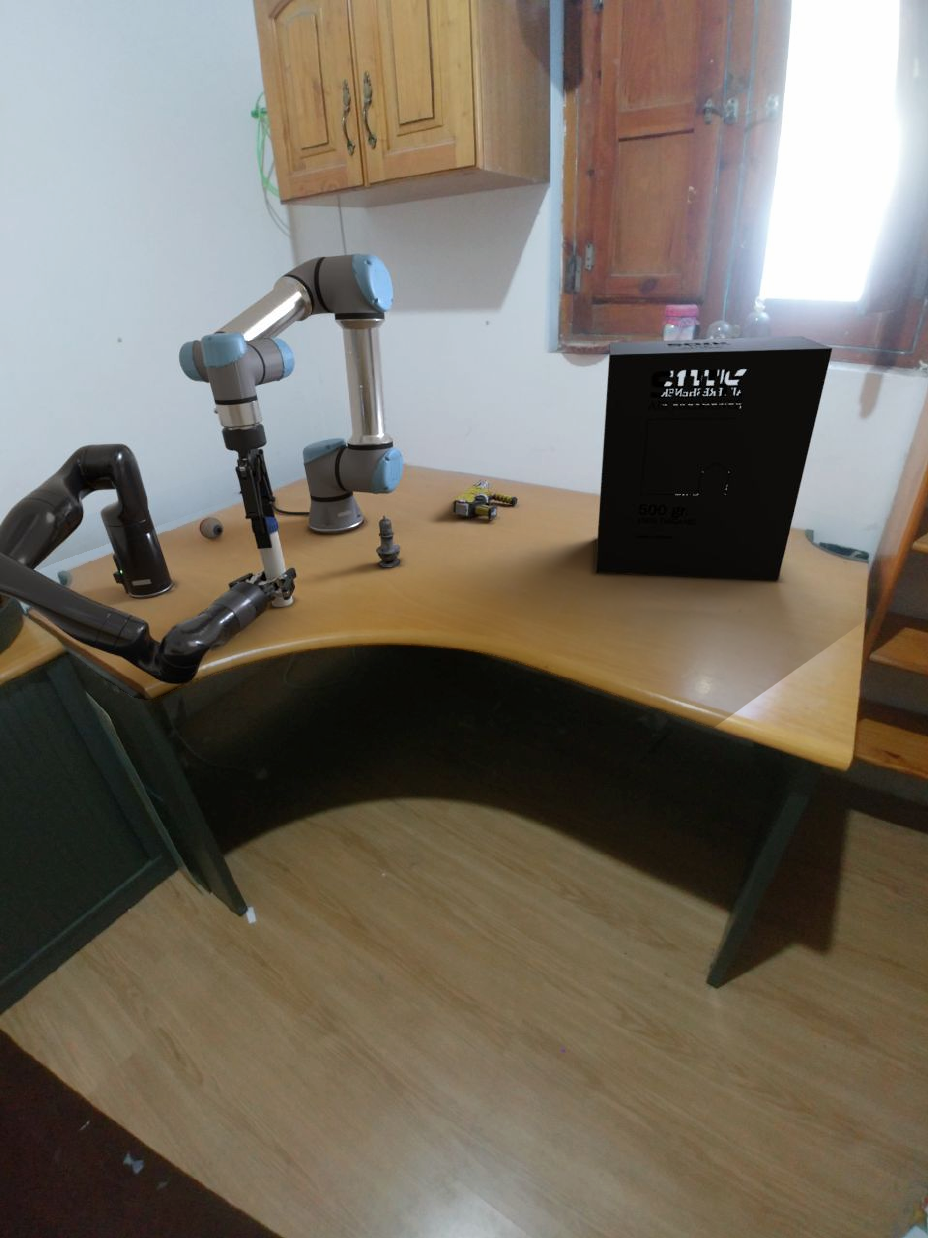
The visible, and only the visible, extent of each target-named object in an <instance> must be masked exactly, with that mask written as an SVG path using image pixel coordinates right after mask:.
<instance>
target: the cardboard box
mask: <svg viewBox="0 0 928 1238" xmlns="http://www.w3.org/2000/svg"><path fill="white" fill-rule="evenodd" d="M832 352H833V347H830V346H829V345H826V344H822V343H821V342H817V341H815V340H813V339H809V338H808V337H804V336H801V335H798V336H797V335H796V336H795V335H793V336H767V337H766V336H765V337H764V336H763V337H762V336H761V337H737V338H705V339H675V340H673V339H672V340H649V341H648V340H645V341H644V340H643V341H615V342H614V341H613V342H612V341H611V342H609V353H608V369H607V382H606V383H607V385H606V401H605V414H604V415H605V416H604V432H603V433H604V434H603V445H602V446H603V447H602V462H601V477H600V479H601V480H600V496H599V508H598V509H599V511H598V523H597V543H596V562H595V563H596V564H595V573H596V574H616V575H617V574H618V575H619V574H620V575H642V576H644V575H645V576H662V577H663V576H665V577H666V576H668V577H690V578H712V579H713V578H714V579H736V580H737V579H738V580H758V581H759V580H761V581H779V578H780V575H781V570H782V567H783V566H782V565H783V562H784V557H785V554H786V550H787V549H786V548H787V544H788V539H789V536H790V531H791V527H792V523H793V519H794V516H795V515H794V514H795V510H796V506H797V502H798V501H797V500H798V498H799V493H800V488H801V485H802V480H803V475H804V473H805V468H806V467H805V466H806V463H807V459H808V454H809V450H810V446H811V441H812V438H813V433H814V428H815V424H816V420H817V416H818V412H819V407H820V403H821V399H822V395H823V390H824V387H825V386H824V385H825V382H826V377H827V374H828V369H829V364H830V361H831V356H832ZM741 370H745V371H744V372H743V374H742V375H741V374H740V375H737V373H738V372H739V371H741ZM684 371H685V375H684V377H683V383H682V385H679V380H680V375H679V374H680V373H681V372H684ZM693 371H697V372H696V377H695V375H692V372H693ZM706 371H708V373H707V375H706ZM727 374H728V378H727V381H737V382H736V384H727V383H726V377H727ZM695 379H696V382H697V381H698V384H697V385H695ZM711 381H713V384H712V385H710V384H709V385H708V382H711ZM667 383H671V384H670V385H666V384H667Z"/></svg>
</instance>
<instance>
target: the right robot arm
mask: <svg viewBox="0 0 928 1238" xmlns="http://www.w3.org/2000/svg"><path fill="white" fill-rule="evenodd" d="M393 301H394V289H393V283H392V279H391V275H390V273H389V270H388V269H387V267H386V265H385V263H384V262H383V261H382V259H381V258H380V257H378V256H377V255H375V254H371V253H354V254H353V253H352V254H343V255H332V256H318V257H313V258H311V259H309V260H306V261H305V262H303V263H301V264H299V265H298V266H295V267H294V268H292V269H291V270H290V271H288V272H287V273H285V274H283V275H282V276H280V277H279V278H277V280H276V281H275V282H274V285H273V287H272V290H270V291H269V292H267V293H266V294H265V295H263V296H262V297H260V298H259V299H258V300H257V301H256V302H254V303H253V304H251V305H250V306H249V307H247V308H246V309H244V311H242V312H241V313H239V314H237V316H235V317H233V318H232V319H231V320H230V321H228V322H227V323H226V324H224V325H223V326H222V327H220V328H219V329H218V330H216V331H215V332H214V333H212V334H206V335H203V336H202V337H201V339H200V340H199V339H194V340H193V341H191V340H190V341H186V342H185V343H183V344H182V346H181V347H180V349H179V352H178V353H179V354H178V361H179V362H178V363H179V365H180V367H181V371H182V372H183V373H184V375H185V376H186V377H187V378H188V379H190V380H191V381H194V382H202V383H206V384H209V385H210V386H209V387H210V389H211V392H212V397H213V402H214V405H215V407H214V408H213V412H214V414H217V416H218V421H219V425H220V426H221V427H223V428H222V430H221V435H222V439H223V443H224V446H225V449H227V450H228V451H230V452H231V451H234V452H236V453H237V458H238V459H236V464H237V465H236V466H235V468H234V470H235V473H236V477H237V480H238V483H239V484H238V485H239V489H240V491H239V492H238V493H239V495H240V494H241V498H242V502H243V507H244V511H245V515H244V518H245V520H250V522H251V523H252V524H251V523H250V524H251V525H252V526H251V528H252V527H253V530H252V532H253V531H254V533H253V534H254V535H253V536H254V539H255V543H256V547H257V550H259V549H265V548H272V543H271V539H270V534H269V530H268V525H267V521H266V517H274V518H276V513H275V511H276V512H278V513H279V514H284V515H293V516H294V515H296V516H297V515H298V516H308V521H307V522H308V523H307V524H308V528H309V529H308V530H310V531H311V532H312V533H314V534H317V535H323V536H324V535H325V536H327V535H329V536H331V535H339V534H340V535H341V534H345V533H350V532H353V531H355V530H357V529H359V528H361V527H362V526H363V525H364V523H365V519H364V514H363V512H362V510H361V508H360V505H359V504H358V501H357V500H356V498H355V495H354V493H363V494H364V493H366V494H373V495H381V494H382V495H386V494H390V493H392V492H394V491H395V490H396V489H397V487H398V486H399V484H400V482H401V479H402V476H403V472H404V457H403V454H402V452H401V450H400V449H398V448H397V447H394V440H393V437H392V436H390V435H389V434H388V433H387V424H386V408H385V407H386V406H385V394H384V392H385V391H384V379H383V364H382V351H381V339H380V328H381V326H382V325H383V324H384V323H385V322H386V319H385V318H386V317H385V313H387V312H389V311H390V309H391V308H392V305H393ZM321 314H322V315H323V314H334V322H335V323H336V324H337V325H338V326H339V327H340V328H341V330H342V339H343V347H344V349H343V350H344V360H345V361H344V362H345V372H346V381H347V391H348V393H347V394H348V403H349V412H350V424H351V435H350V436H349V438H348V439H347V440H346V439H345V438H342V437H335V438H328V439H323V440H320V441H316V442H313V443H309V444H308V445H306V446H305V447H304V448H303V450H302V457H303V459H302V460H303V467H304V471H305V477H306V481H307V486H308V492H309V498H310V507H309V511H287V510H282V509H279V508H278V507H277V506H276V505H275V503H276V496H273V495H274V492H273V490H272V489H273V488H272V484H271V481H270V478H269V473H268V469H267V465H266V460H265V455H264V449H263V447H265V446H266V444H267V443H268V440H267V436H266V431H265V427H264V426H265V425H263V424H262V423H261V422H262V421H263V417H262V416H263V415H262V411H261V407H260V402H259V399H258V394H257V389H256V387H257V386H261V385H265V384H269V383H273V382H280V381H281V380H283V379H285V378H288V377H290V375H291V374H292V373H293V372H294V369H295V365H296V364H295V363H296V361H295V355H294V352H293V350H292V348H291V346H290V345H289V344H288V343H287V342H286V341H285V340H283V339H281V338H279V337H278V336H279V335H281V333H283V332H284V331H286V329H288V328H289V327H290V326H292V325H293V324H294V323H295V322H303V321H305V320H307V319H308V318H309V317H311V316H314V315H321ZM277 531H278V532H279V529H278V530H277Z"/></svg>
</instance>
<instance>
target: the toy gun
mask: <svg viewBox="0 0 928 1238" xmlns="http://www.w3.org/2000/svg"><path fill="white" fill-rule="evenodd" d="M491 501H495V502H499V503H503V504H506V505H507V504H509V505H510V506H511V505H512V506H516V505H517V504H518V497H517V496H510V495H507V494H503V493H498V492H495V493H494V494H492V492H491V491H490V482H489V481H488V480H485V481H484V479H480V480H479V481H477V482H476V483H474V484H472V485H471V486H470V487H469V488H468V489H466V490H465V491H464V492H463V493H462V494H461V495H459V496H458V497H457V498H456V499H454V501H453V502H452V512H453V514H454V515H457V517H461V518H464V517H473V516H477V515H478V516H479V515H480V516H485V517H487V518H488V520H490V521H491V520H493V519H494V518H496V517H497V516H498V505H497V504H492V505H491V503H490V502H491Z"/></svg>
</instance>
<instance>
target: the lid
mask: <svg viewBox="0 0 928 1238" xmlns="http://www.w3.org/2000/svg"><path fill="white" fill-rule="evenodd" d="M266 521H267V525H268V530H269V534H271V533H274V532H276V531H277V530H278V531H279V528H280V526H279V522H278V519H277V518H276V517H275V518H274V517H266ZM250 525H251V526H250V527H251V531H252V534H254V531H253V527H252V523H250Z"/></svg>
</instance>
